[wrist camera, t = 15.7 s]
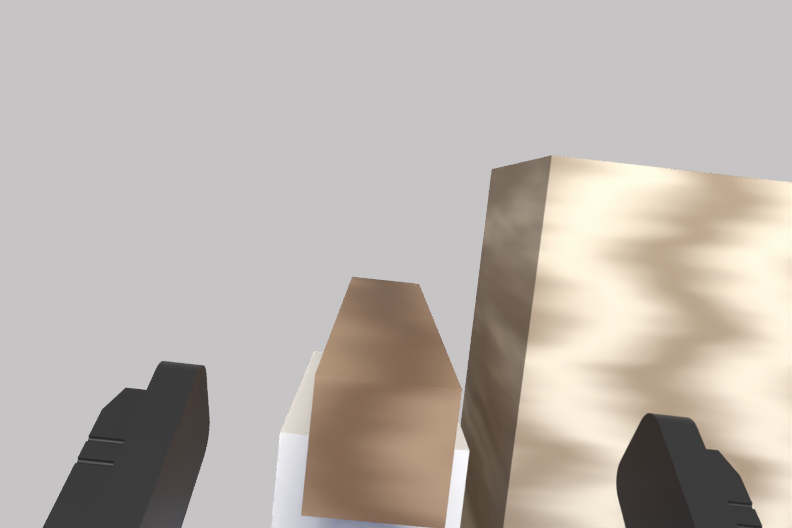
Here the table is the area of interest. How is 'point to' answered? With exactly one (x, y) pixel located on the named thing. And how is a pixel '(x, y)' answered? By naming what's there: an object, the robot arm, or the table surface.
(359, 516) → the light brown wooden block
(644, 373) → the birch stand
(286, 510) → the white block
